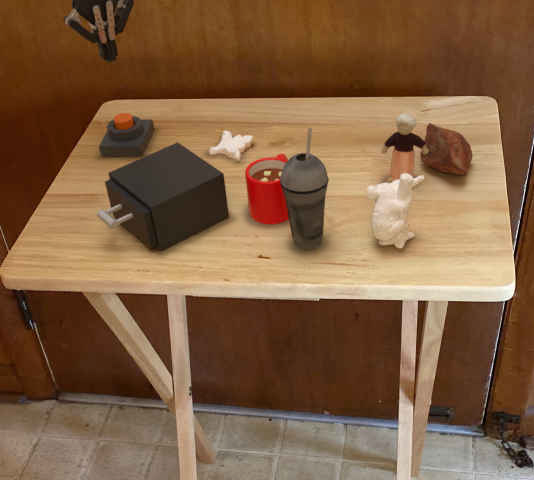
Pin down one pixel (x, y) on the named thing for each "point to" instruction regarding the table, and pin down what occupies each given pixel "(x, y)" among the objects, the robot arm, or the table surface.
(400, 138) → the grandmother figurine
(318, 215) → the beverage cup
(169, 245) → the cabinet
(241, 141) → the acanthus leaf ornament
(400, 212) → the white rabbit figurine
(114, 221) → the drawer
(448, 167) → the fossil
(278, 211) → the mug
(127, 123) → the button
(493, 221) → the table surface
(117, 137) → the control block
